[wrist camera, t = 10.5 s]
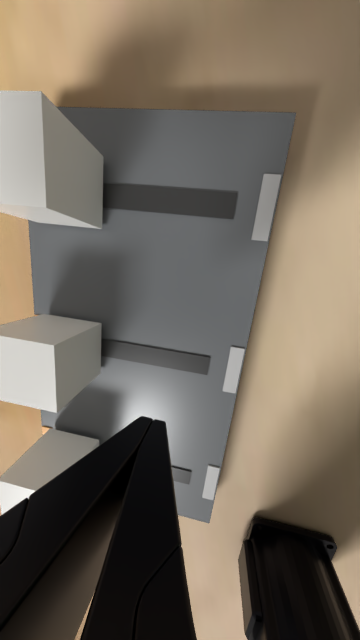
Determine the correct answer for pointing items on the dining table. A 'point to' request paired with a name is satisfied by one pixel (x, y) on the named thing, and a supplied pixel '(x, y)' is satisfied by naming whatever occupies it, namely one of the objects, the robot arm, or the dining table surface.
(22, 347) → the handle mid
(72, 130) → the handle
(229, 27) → the dining table surface
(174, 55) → the dining table surface
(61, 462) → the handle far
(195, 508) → the breaker panel
